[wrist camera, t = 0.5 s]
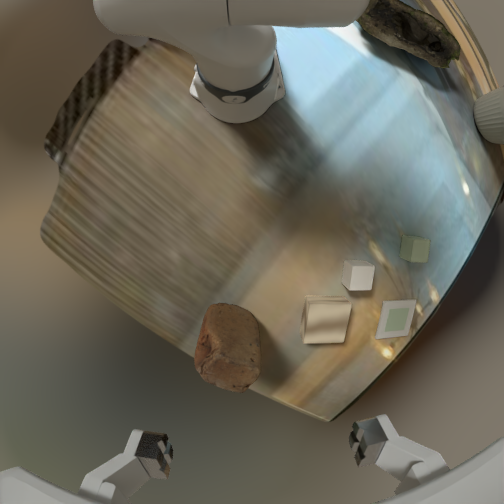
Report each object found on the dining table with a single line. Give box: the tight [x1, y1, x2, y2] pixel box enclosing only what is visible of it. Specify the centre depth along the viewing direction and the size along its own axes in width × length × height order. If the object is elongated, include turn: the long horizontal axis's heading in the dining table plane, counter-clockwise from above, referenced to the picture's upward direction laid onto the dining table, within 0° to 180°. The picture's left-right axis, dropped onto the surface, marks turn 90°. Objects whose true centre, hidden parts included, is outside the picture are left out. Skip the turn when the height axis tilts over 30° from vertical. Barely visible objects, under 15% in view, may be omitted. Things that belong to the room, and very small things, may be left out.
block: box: [194, 303, 261, 393], centre depth 47 cm, size 11×8×20 cm
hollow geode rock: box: [356, 0, 460, 68], centre depth 38 cm, size 28×13×15 cm
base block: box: [300, 295, 352, 343], centre depth 56 cm, size 9×9×5 cm
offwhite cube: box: [341, 260, 375, 290], centre depth 53 cm, size 5×5×5 cm
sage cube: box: [399, 235, 431, 263], centre depth 53 cm, size 5×5×5 cm
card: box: [375, 299, 417, 339], centre depth 58 cm, size 10×10×1 cm
